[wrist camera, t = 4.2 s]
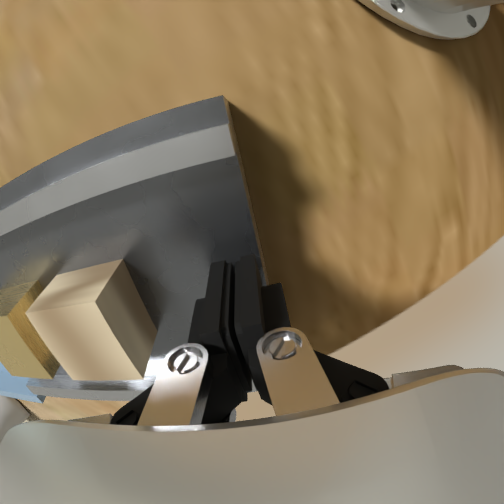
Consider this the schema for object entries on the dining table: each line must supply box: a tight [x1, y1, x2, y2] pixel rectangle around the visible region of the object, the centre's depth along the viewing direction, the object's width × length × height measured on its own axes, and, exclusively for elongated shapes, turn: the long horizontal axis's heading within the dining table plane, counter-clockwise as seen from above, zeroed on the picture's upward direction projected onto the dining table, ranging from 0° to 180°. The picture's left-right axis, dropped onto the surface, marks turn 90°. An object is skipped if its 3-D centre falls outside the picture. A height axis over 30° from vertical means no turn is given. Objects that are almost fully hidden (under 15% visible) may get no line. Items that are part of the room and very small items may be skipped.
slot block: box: [0, 95, 270, 401], centre depth 14 cm, size 18×14×5 cm
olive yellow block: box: [0, 280, 60, 379], centre depth 11 cm, size 4×4×3 cm
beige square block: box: [25, 259, 158, 381], centre depth 11 cm, size 4×4×3 cm
